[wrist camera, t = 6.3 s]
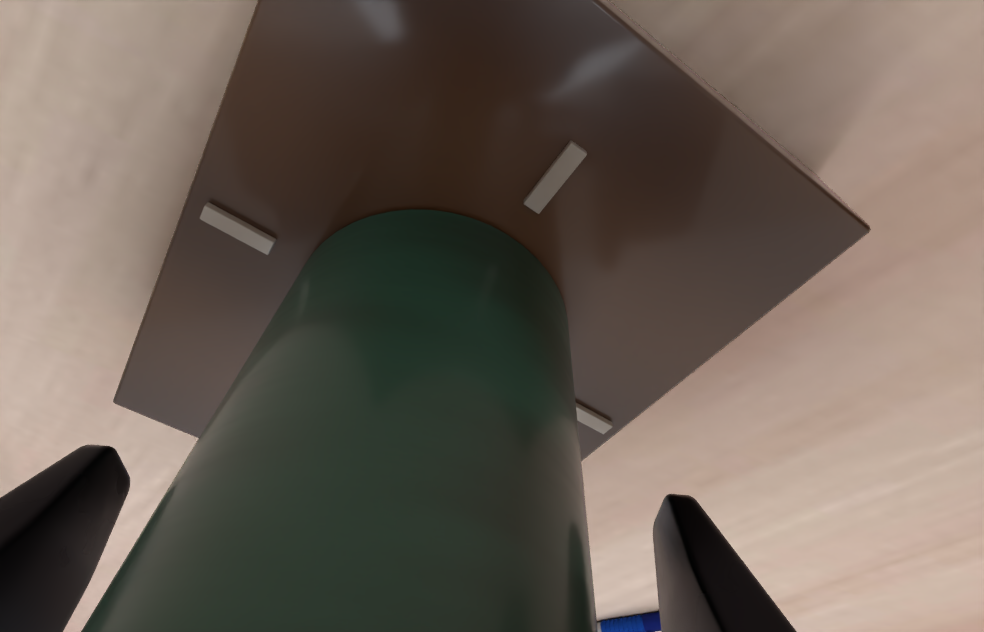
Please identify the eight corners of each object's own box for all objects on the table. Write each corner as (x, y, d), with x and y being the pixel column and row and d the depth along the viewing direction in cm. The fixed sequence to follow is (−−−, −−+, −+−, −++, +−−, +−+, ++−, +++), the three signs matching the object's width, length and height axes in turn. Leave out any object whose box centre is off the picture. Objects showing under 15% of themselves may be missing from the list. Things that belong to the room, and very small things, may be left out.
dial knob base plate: (377, -195, 9) (332, -224, 7) (818, 176, 12) (879, 234, 10) (162, 341, 16) (107, 407, 14) (475, 484, 20) (469, 556, 18)
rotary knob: (606, 384, 13) (688, 892, 6) (389, 449, 15) (276, 897, 8) (494, 157, 10) (425, 691, 3) (236, 273, 12) (-151, 771, 5)
